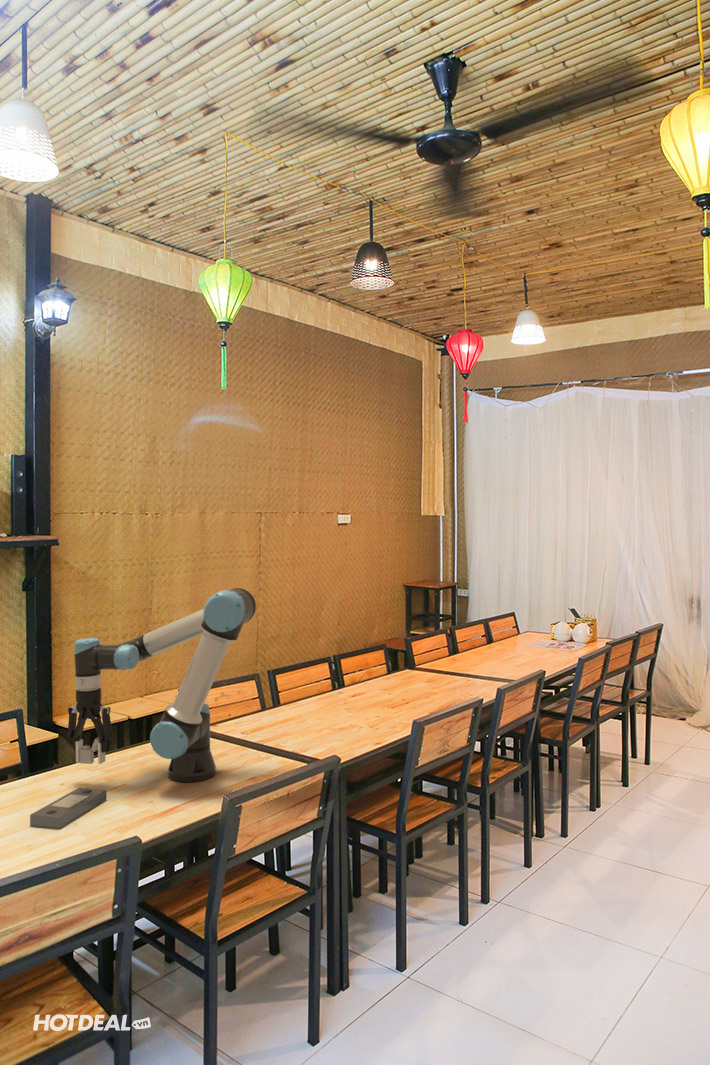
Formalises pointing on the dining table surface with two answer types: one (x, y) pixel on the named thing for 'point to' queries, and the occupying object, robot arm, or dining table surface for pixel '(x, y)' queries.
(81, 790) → the dark grey rectangular base
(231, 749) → the dining table surface
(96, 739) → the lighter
